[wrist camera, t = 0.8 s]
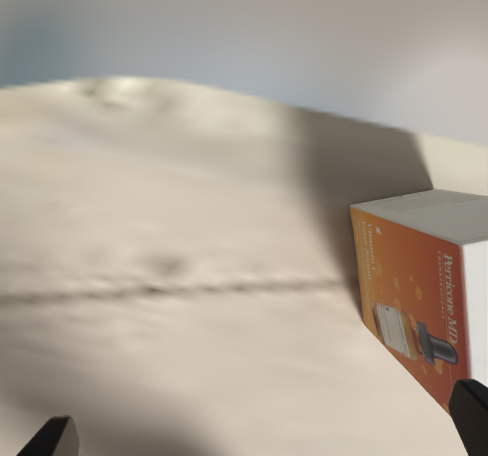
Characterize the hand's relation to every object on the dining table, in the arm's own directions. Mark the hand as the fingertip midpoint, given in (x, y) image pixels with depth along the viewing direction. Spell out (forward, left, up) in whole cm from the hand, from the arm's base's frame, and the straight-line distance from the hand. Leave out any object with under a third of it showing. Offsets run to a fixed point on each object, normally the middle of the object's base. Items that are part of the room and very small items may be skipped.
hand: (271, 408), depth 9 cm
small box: (+3, -10, -14) cm, 18 cm away
